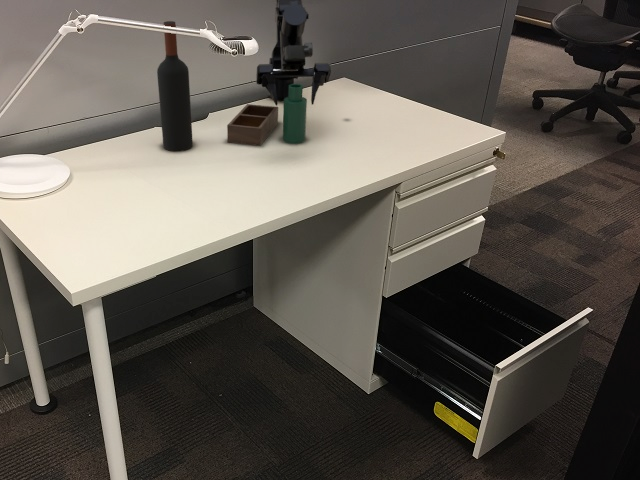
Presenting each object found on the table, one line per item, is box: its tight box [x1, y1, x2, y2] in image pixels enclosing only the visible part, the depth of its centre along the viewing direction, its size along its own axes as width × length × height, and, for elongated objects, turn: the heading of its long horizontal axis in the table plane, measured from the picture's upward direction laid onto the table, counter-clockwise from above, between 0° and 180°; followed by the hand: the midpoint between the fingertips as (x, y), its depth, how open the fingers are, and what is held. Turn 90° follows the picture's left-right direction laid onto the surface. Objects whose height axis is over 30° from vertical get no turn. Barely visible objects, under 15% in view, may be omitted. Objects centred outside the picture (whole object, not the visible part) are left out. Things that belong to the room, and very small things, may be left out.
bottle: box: [282, 83, 308, 145], centre depth 170 cm, size 6×6×14 cm
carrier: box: [226, 103, 279, 147], centre depth 178 cm, size 17×9×5 cm, turn 162°
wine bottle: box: [156, 20, 194, 153], centre depth 163 cm, size 8×8×30 cm
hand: (294, 104), depth 170 cm, fingers open, 9 cm apart
